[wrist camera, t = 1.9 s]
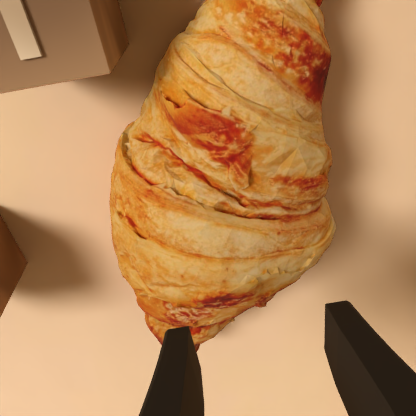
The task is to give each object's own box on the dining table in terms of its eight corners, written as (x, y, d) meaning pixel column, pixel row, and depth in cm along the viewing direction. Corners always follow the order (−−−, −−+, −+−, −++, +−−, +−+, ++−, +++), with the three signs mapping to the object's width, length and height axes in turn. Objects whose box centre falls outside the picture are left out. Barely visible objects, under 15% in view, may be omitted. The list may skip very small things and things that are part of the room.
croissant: (204, -89, 16) (73, -173, 9) (457, -38, 13) (526, -103, 7) (141, 283, 26) (59, 368, 20) (276, 350, 24) (233, 473, 17)
